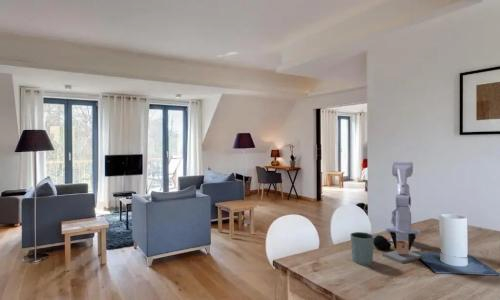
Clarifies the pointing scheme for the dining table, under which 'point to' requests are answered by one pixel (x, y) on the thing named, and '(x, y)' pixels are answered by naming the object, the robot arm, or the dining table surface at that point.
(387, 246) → the light bulb
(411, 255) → the duct plate
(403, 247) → the collar
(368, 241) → the green cup
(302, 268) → the dining table surface
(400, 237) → the robot arm
